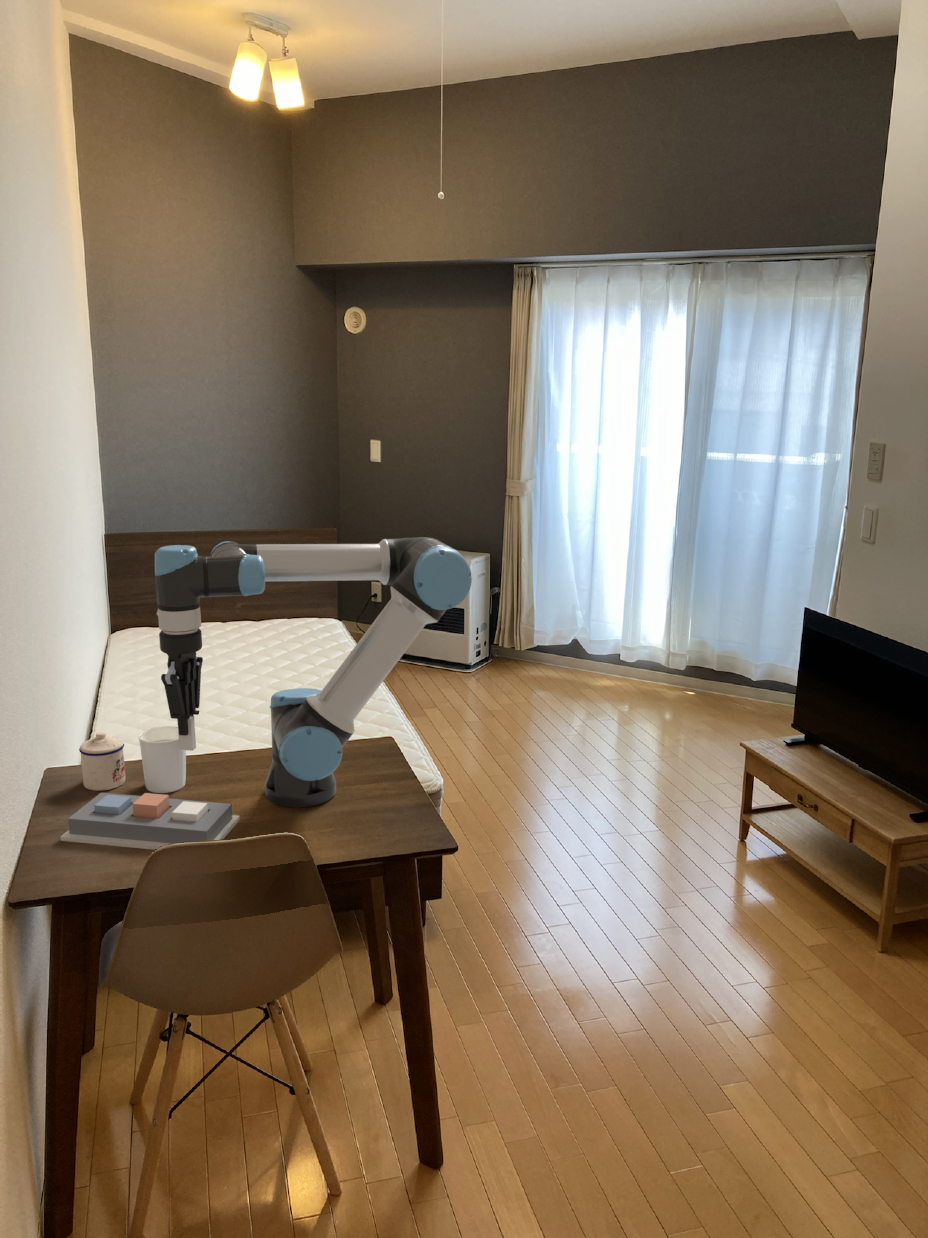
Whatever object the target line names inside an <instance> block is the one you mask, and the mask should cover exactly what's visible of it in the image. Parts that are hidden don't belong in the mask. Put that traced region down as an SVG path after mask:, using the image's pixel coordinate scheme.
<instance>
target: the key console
mask: <svg viewBox="0 0 928 1238" xmlns="http://www.w3.org/2000/svg"><path fill="white" fill-rule="evenodd" d="M107 795H118V796H130V797H131V802H132V805H131V806H130V807H129V808H128V809H127V810H125V811H124V812H123V813H122V814H121V815H110V814H99V813H95V807H94V805H95V804H97V803H98V802H99V801H100V800H102V799H103V798H104V797H105V796H107ZM141 796H142V795H132V794H123V793H122V794H120V793H113V792H112V793H111V792H110V793H109V792H100V793H98V794H97V795H96V796H95V797H93V798H92V799H91V800H90V801H88V802H87V803H86V804H85V805H83V806H81V808H79V809H78V810H77V811H76V812H75V813H73V814H72V815H71V816H69V817H68V818H67V820H68V830H67V831H65V832H64V833H63V834H62V835H61V836H60V841H61V842H71V843H82V844H91V845H101V846H111V847H122V848H132V849H133V848H135V849H141V850H143V849H145V850H152V851H153V850H155V849H157V848H159V847H160V846H165V845H168V844H171V843H184V842H194V841H204V840H220V839H223V840H224V839H225V837H226V836H227V835H228V834H229V833H230V832H231V830H232V829H233V828H234V827H235V826H236V825H237V824H238V823H239V822H240V820H241V816H240V815H235V814H233V808H232V807H233V806H232V803H226V802H212V801H201V800H191V799H190V800H189V799H180V798H169V807H170V809H169V810H168V811H166V812H165V813H164V814H163V815H162V816H161V817H160V818H159V819H154V818H143V817H133V803H134V802H135V801H136V800H137V799H139V798H140V797H141ZM183 801H187V802H198V803H207V804H208V813H207V814H206V815H205V816H204V817H203V818H202V819H201V820H200V821H199V822H187V821H176V820H172V812H173V811H174V810H175V809H176V808H177V807H178V806H179V805H180V804H181V803H182V802H183ZM155 851H156V850H155Z"/></svg>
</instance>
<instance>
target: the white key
mask: <svg viewBox="0 0 928 1238" xmlns="http://www.w3.org/2000/svg"><path fill="white" fill-rule="evenodd" d="M207 813H208V804H207V803H198V802H187V801H183V802H182V803H181V804H180V805H179V806H178V807H177V808H176V809H175V810H174V811H173V812H172V820H176V821H187V822H199V821H200V820H201V819H202V818H203V817H204V816H205V815H206V814H207Z"/></svg>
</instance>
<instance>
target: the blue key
mask: <svg viewBox="0 0 928 1238" xmlns="http://www.w3.org/2000/svg"><path fill="white" fill-rule="evenodd" d="M131 805H132V802H131V797H130V796H118V795H107V796H105V797H104V798H103V799H102V800H100V801H99V802H98V803H97V804H95V805H94V807H95V813H99V814H110V815H121V814H122V813H123V812H124V811H125V810H127V809H128V808H129V807H130V806H131Z"/></svg>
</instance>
